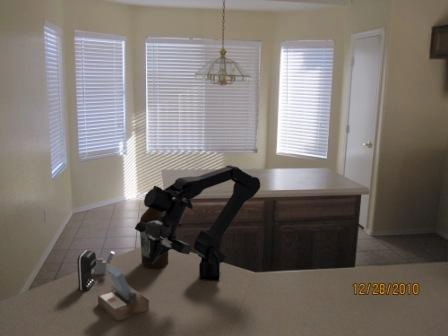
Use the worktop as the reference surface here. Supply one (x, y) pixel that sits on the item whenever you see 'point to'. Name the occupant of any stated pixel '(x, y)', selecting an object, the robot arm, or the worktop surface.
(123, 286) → the block
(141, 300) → the switch base
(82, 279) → the battery charger
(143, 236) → the olive oil
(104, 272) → the lighter
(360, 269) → the worktop surface
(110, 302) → the switch plate
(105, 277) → the worktop surface
